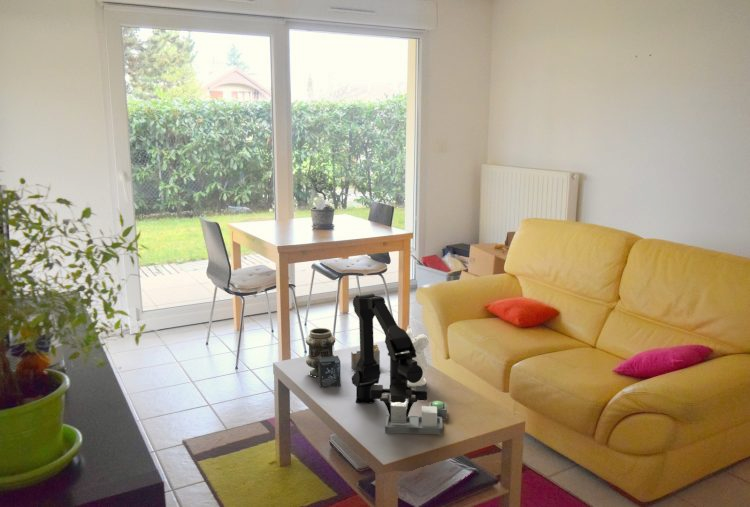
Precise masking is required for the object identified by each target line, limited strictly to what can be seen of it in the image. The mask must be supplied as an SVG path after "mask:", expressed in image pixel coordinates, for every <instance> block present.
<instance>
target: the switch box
mask: <svg viewBox="0 0 750 507" xmlns="http://www.w3.org/2000/svg"><path fill="white" fill-rule="evenodd" d="M433 402H434V401H428V406H432V403H433ZM442 402H443V401H442ZM447 408H448V407H447V402H446V401H445V402H443V409H437V417H442V420H447V419H448V418H447V417H448V409H447Z"/></svg>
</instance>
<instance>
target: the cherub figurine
mask: <svg viewBox="0 0 750 507" xmlns="http://www.w3.org/2000/svg"><path fill="white" fill-rule="evenodd" d="M405 332H406V333H407V334H408V336H409V337H410V338H411V341H412V343H413V346H414V348H415V350H416V352H415V353H416V357H415V358H412V359H413V360H415V361H417V365H418V366H420V367H421V368H422V371H423V375H422V378H421V379H420V380H419V381H418V382H416V383H411V382H409V381H408V387H413V388H416V386H426V385H427V380H426V378H425V372H426V370H428V369H429V364H428V360H427V357H426V354H425V352H424V349H426V348H427V347H428V345H429V341H430V340H429V338H428V336H427V335H426V334H424V333H422V334H418V335H417V336H415V337H414V338H413V334H414V333H413V329H412V328H411V326H410V325H409V324H407V327H406V330H405ZM403 353H409V351H407V352H402V354H403Z"/></svg>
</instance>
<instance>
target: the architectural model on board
mask: <svg viewBox="0 0 750 507" xmlns="http://www.w3.org/2000/svg"><path fill="white" fill-rule="evenodd" d="M380 354H381V353H380V348H379V346H378V344H374V359H375V361H376V362H377V363H378V364H379V365H381V360H380V359H381V356H380ZM350 357H351V361H350V362H351V369H353V370H356V365H357V363H358V361H359V359H360V350H356V353H354V352H353V351H351V356H350ZM353 370H352V371H353Z"/></svg>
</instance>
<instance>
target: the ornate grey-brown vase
mask: <svg viewBox="0 0 750 507" xmlns="http://www.w3.org/2000/svg"><path fill="white" fill-rule="evenodd" d="M331 330H332V329H330V328H327V327H316V328H312V329H310V331H309V334H308V335H307V336H306V338H305V343H306V345H307V346H308V355H307V356H306V358H305V364H306V365H307V366H308V367H310V368H312V369H311V370H310V371H309V372H310V375H312V376H316V377H319V368H318V367H319V366H318V357H330V356H335V354H334V353H333V352H334V351H333V345H334V344H335V343H336V337H335V336H334V335H333V334H332V331H331ZM310 375H309V376H310ZM312 376H311V377H312Z"/></svg>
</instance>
